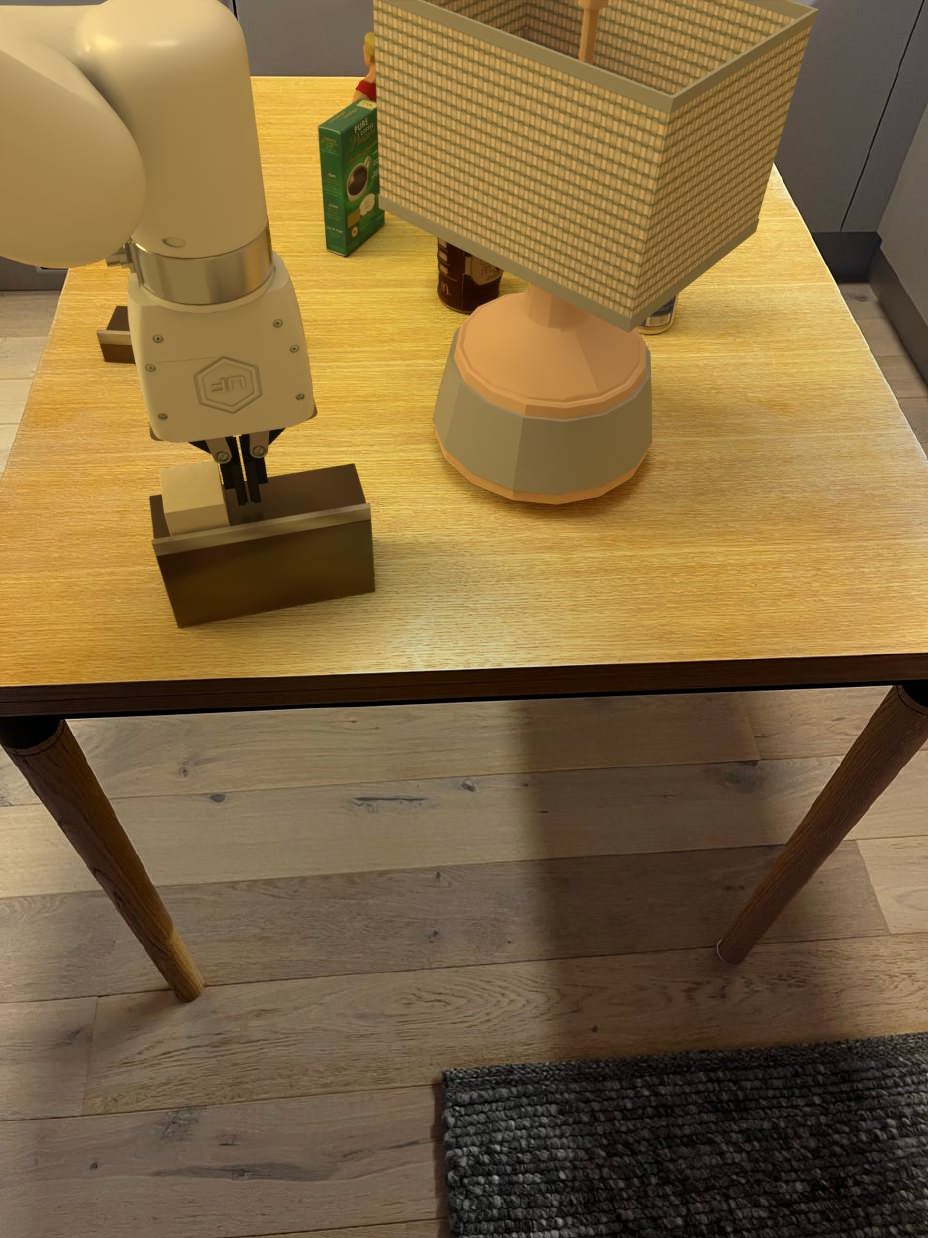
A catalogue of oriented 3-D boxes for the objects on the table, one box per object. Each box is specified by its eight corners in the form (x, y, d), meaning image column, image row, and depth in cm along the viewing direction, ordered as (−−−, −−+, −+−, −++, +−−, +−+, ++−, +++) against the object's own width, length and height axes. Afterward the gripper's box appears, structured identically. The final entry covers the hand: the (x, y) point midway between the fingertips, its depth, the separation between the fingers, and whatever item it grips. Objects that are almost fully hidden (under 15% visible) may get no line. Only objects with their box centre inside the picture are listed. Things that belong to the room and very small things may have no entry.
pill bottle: (627, 299, 102) (642, 218, 96) (677, 311, 101) (696, 230, 94) (613, 328, 99) (628, 246, 92) (665, 341, 98) (683, 259, 91)
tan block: (223, 490, 72) (216, 459, 70) (231, 533, 70) (224, 503, 67) (167, 499, 72) (158, 468, 69) (172, 543, 69) (164, 513, 67)
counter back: (255, 330, 97) (250, 301, 95) (243, 369, 94) (238, 340, 91) (121, 322, 97) (113, 294, 95) (104, 361, 94) (95, 332, 91)
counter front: (359, 536, 81) (353, 450, 74) (375, 591, 77) (370, 507, 70) (170, 569, 78) (145, 483, 71) (178, 628, 75) (151, 544, 67)
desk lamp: (702, 445, 89) (835, -16, 60) (575, 566, 80) (660, 89, 51) (510, 343, 97) (547, -105, 68) (375, 442, 88) (352, -29, 59)
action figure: (394, 151, 120) (391, 14, 108) (416, 162, 118) (416, 24, 106) (338, 181, 115) (328, 41, 103) (361, 192, 114) (354, 52, 102)
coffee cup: (525, 286, 103) (537, 163, 93) (492, 330, 98) (501, 205, 88) (449, 264, 105) (452, 141, 95) (413, 305, 101) (412, 181, 90)
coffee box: (365, 215, 111) (359, 93, 100) (387, 223, 110) (384, 100, 100) (324, 250, 106) (313, 125, 96) (347, 258, 105) (338, 133, 95)
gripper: (65, 307, 52) (141, 547, 66) (349, 273, 55) (363, 510, 69) (61, 230, 56) (133, 471, 71) (324, 202, 59) (342, 439, 74)
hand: (247, 490), depth 70 cm, fingers closed
